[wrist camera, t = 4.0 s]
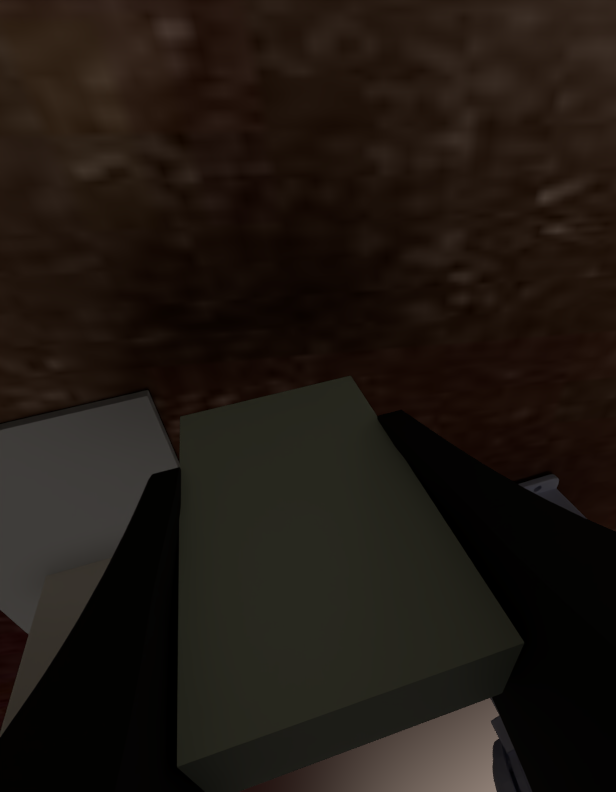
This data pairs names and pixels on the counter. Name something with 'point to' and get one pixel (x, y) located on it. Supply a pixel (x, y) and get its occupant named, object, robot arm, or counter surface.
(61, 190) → the counter surface
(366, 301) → the counter surface
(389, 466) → the domino
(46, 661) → the domino
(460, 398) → the counter surface
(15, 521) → the mat
